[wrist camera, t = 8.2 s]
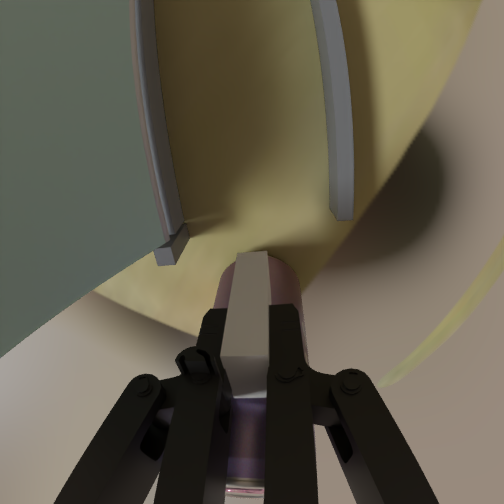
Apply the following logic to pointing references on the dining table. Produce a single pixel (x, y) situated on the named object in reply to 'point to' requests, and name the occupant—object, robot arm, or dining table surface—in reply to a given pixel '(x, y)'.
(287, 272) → the beverage can
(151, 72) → the plastic rails
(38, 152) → the cover
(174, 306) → the dining table surface
